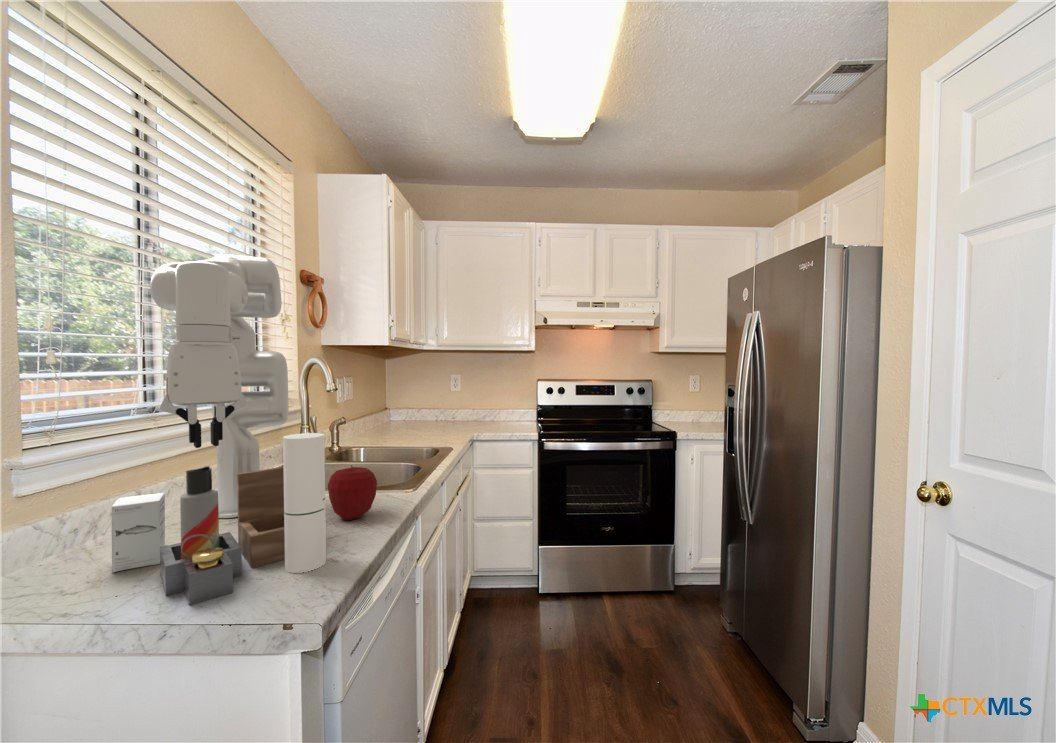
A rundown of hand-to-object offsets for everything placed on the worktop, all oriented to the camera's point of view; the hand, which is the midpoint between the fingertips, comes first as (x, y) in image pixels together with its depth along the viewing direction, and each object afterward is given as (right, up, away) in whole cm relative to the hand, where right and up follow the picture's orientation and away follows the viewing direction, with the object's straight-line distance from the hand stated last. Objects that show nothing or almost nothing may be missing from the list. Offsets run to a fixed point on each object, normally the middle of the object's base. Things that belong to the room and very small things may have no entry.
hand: (206, 445), depth 77 cm
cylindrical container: (+12, -25, +11) cm, 30 cm away
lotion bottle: (-6, -25, +7) cm, 27 cm away
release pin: (0, -24, 0) cm, 24 cm away
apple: (+10, -25, +38) cm, 47 cm away
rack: (+2, -25, +17) cm, 30 cm away
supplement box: (-22, -25, +13) cm, 36 cm away
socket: (-4, -25, +5) cm, 26 cm away
